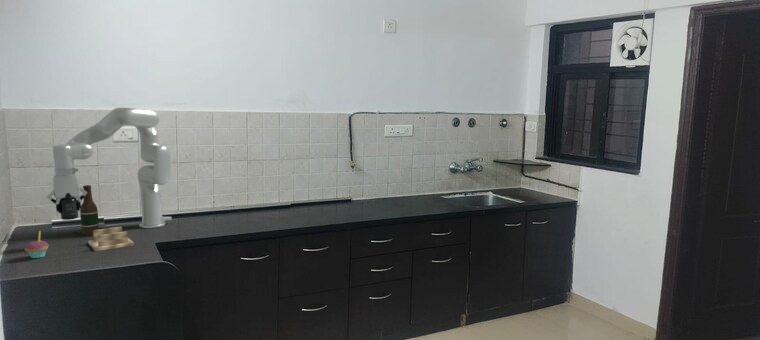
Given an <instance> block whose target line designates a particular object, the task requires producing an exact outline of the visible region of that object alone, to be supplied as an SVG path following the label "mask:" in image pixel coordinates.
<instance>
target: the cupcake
mask: <svg viewBox="0 0 760 340" xmlns="http://www.w3.org/2000/svg"><path fill="white" fill-rule="evenodd" d="M41 234H42V233H41V230H39V231H38V238H37V240H34V241H33V240H32V241H29V242H28V243H27V244H25V246H24V251H25V252H27V253H28V254H29V256H30V258H39V257H43V256H44V257H46V252H47V250H48V249H49V246H50V245H49V243H48V242H46V241H44V240H41ZM44 257H43V258H44Z"/></svg>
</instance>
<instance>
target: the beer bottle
mask: <svg viewBox="0 0 760 340" xmlns="http://www.w3.org/2000/svg"><path fill="white" fill-rule="evenodd" d="M82 189H83V190H85V191H87V194H86V195H85V197H84V198H83V201H82V203H81V208H80V211H79V214H80V216H79V217H80V227H81V229H80V230H81V234H82V236H84V235H86V236H87V237H89V236H93V230H100V224H99V212H98V211H99V210H98V207H97V205H96V203H95V202H94V200H93V193H92V185H89V184H88V185H87V184H86V185H83V186H82Z"/></svg>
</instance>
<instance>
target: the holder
mask: <svg viewBox="0 0 760 340" xmlns="http://www.w3.org/2000/svg"><path fill="white" fill-rule="evenodd" d="M128 232H129V231H123V227H122V226H116V227H109V228H102V229H100V228H99V230H93V235H92V236H93V240H88V245H89V246H90V248H91V249H93V251H94V252H99V251H105V250H111V249H118V248H127V247H132V246H135V243H134V241H133V240H131V239H130V238H129V235H128V234H129V233H128Z"/></svg>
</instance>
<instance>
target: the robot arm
mask: <svg viewBox="0 0 760 340" xmlns="http://www.w3.org/2000/svg"><path fill="white" fill-rule="evenodd" d="M159 121H160V117H159V114H158V113H157V112H156V111H154V110H152V109H151V110H150V109H142V108H141V109H140V108H133V107H116V108H113V109H112V110H111V111H110V112H109V113H107V114H106V115H105V116H104V117H102V119H101V120H99V121H98V122H96V124H94V125H92V126H90V127H88V128H86V129H84V130H83V131H81V132H79V133H77V134H76V135H74V136H73V137H72V138H71V139H69V140H68V141H67V142H66V143H65V144H57V145H54V146H53V147H52V154H53V161H54V162H53V164H54V174H55V175H53V178H52V179H53V180H52V181H53V183H52V184H53V185H52V186H53V187H52V189H53V190H52V191H51V192H49V193H48V194H47V196H46V198H47V199H48V200H49V201H51V202H52V203H53V204H55V209H56V212H58V214H61V208H60V204H59V202H60V199H61V198H65V196H66V194H67V193H70V194H71V197H75V198H76V199H77V208H78V212H80V208H81V205H82V200H84V197H85V195H86V194H87V191H85V190H84V188H83V187H82V188H81V187H80V181H79V178H78V174H77V173H76V172H78V173H79V168H75V163H74V160H87V159H89V158H91V157H92V156H93V154H94V148H93V147H92V146H91V145H92V144H95V143H99V142H102V141H105V140H107V139H110V138H111V137H112V136H114V135H115V133H117V132H118V131H119V130H121V128H123V127H124V126H132V127H135V129H137V131H138V132H139V133H138V134H139V136H140V139H139V140H140V159H141V160H142V161H143V162H145V163H149V164H146V165H143V166H141V167H140V168H139V169H138V172H137V180H138V184H139V189H140V206H141V223H139V225H138V226H139V227H140V228H142V229H155V228H160V227H164V226H165V225H166V221H172V219H173V218H172V216H163V215H162V214H163V213H162V198H161V197H162V194H161V187H160V186H163V185H166V184H167V183H168V182H169V180H171V179H170V177H171V163H172V162H171V159H172V158H171V152H170V150H169V148H168V147H167V146H165V145H162V144H159V133H158V129H157V126H158V124H159ZM151 163H152V164H153V165H152V164H151ZM150 164H151V165H150ZM52 196H53V197H54V198H55V199H54V198H53V197H52Z"/></svg>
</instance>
